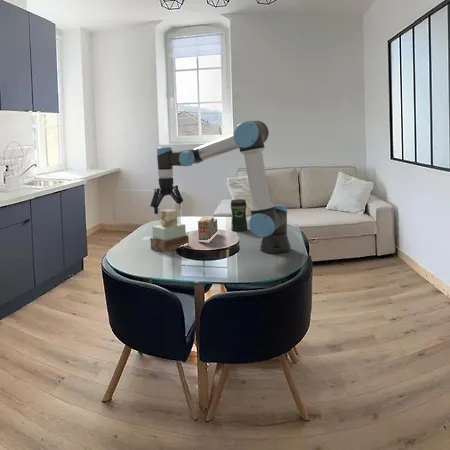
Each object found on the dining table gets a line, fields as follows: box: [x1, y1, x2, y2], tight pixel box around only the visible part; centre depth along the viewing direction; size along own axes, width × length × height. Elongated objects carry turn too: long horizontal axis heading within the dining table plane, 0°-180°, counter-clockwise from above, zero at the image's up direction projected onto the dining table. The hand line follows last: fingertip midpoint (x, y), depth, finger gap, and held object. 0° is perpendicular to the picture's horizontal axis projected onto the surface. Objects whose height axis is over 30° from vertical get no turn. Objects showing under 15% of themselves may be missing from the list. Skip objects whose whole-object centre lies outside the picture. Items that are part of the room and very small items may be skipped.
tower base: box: [149, 234, 190, 253], centre depth 264 cm, size 12×16×6 cm
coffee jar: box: [230, 198, 248, 232], centre depth 298 cm, size 10×8×19 cm
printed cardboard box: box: [197, 216, 219, 241], centre depth 280 cm, size 21×6×12 cm, turn 169°
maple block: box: [160, 208, 178, 227], centre depth 262 cm, size 6×6×8 cm
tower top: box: [151, 222, 187, 240], centre depth 263 cm, size 10×14×6 cm
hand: (168, 217), depth 262 cm, fingers open, 13 cm apart
